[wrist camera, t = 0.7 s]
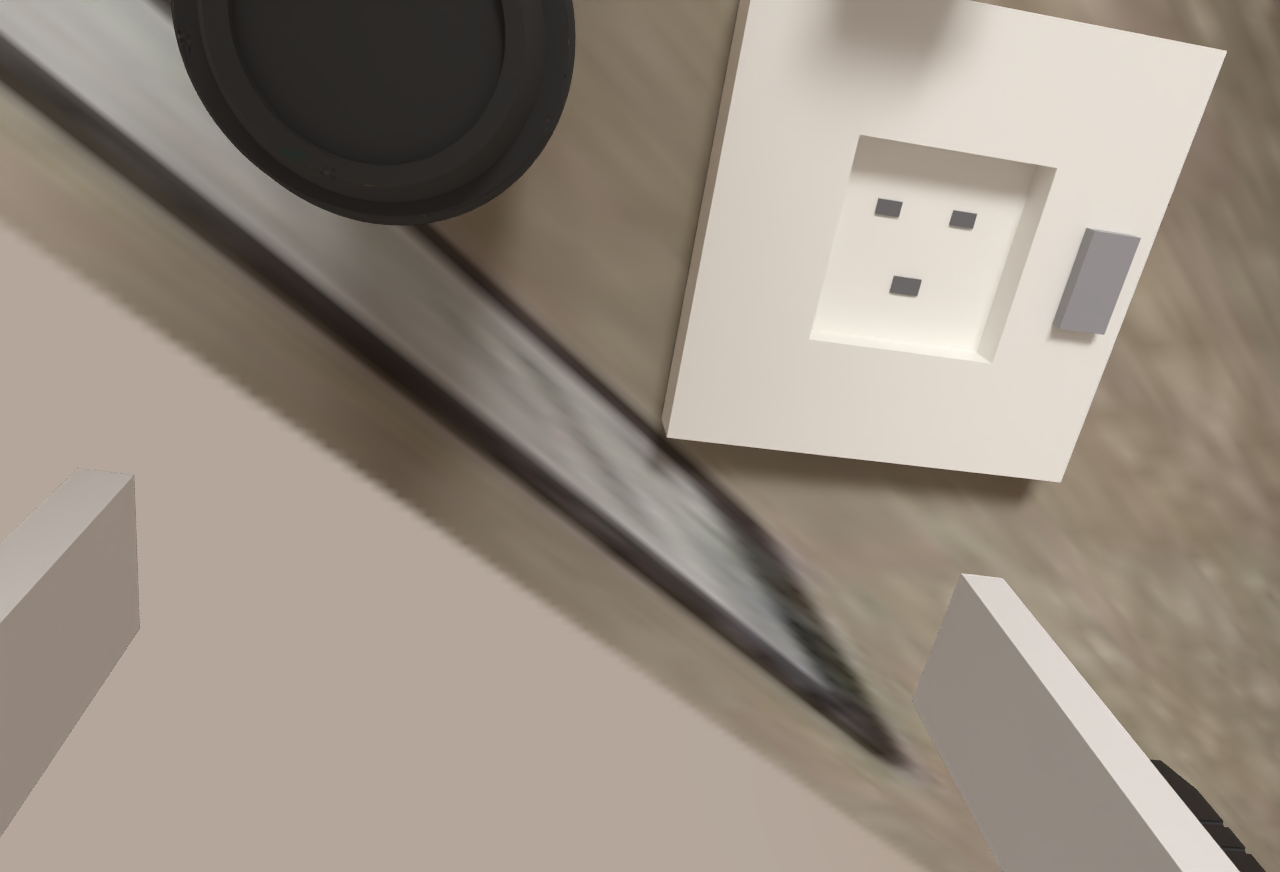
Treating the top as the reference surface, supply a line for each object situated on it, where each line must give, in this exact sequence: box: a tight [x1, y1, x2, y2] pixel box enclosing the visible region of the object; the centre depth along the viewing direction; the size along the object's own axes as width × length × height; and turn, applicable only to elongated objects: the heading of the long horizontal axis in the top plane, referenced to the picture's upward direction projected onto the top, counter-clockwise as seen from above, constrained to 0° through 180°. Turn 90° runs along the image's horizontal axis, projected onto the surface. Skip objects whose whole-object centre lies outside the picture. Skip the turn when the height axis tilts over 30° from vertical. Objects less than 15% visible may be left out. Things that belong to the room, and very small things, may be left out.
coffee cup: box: [171, 0, 575, 225], centre depth 26 cm, size 9×9×15 cm
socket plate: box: [661, 0, 1227, 482], centre depth 37 cm, size 18×18×3 cm
